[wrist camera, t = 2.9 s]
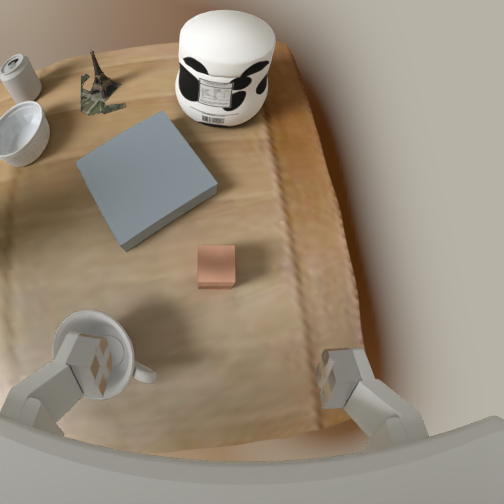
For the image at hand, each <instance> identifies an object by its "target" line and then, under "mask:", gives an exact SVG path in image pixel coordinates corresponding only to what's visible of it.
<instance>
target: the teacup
mask: <svg viewBox="0 0 504 504" xmlns="http://www.w3.org/2000/svg"><path fill="white" fill-rule="evenodd" d="M70 331H71V332H77V333H83V334H88V335H94V336H100V337H105V338H106V340H107V343H108V345H107V349H108V350H109V351H110V352H111V355H112V369H111V373H110V375H109V376H108V377H106V378H105V380H106V382H107V386H106V389H105V393H104V396H103V397H97V396H91V395H85V394H83V395H84V396H83V397H84V398H87V399H91V400H105V399H109V398H112V397H114V396H116V395H118V394H119V393H121V392H122V391H123V390H124V389H125V388H126V386H127V385H128V383H129V381H130V379H131V377H132V376H134V378H135V379H137V380H139V381H141V382H144V383H149V384H150V383H154V382H155V381H156V379H157V373H156V372H155V371H154V370H152V369H151V368H149V367H147V366H144V365H142V364H140V363H139V362H137V361H136V360H135V356H134V347H133V344H132V342H131V339H130V338H129V336H128V334H127V333H126V331H125V330H124V328H123V327H122V326H121V325H120V324H119V323H118V322H117V321H116V320H115V319H114V318H113V317H111V316H110V315H108V314H106V313H104V312H101V311H97V310H81V311H77V312H75V313H73V314H71V315H69V316H68V317H67V318H65V319H64V320H63V321H62V323H61V324H60V325H59V327H58V329H57V331H56V333H55V336H54V340H53V348H52V352H53V361H54V360H55V358H56V356H57V354H58V352H59V350H60V348H61V346H62V343H63V341H64V339H65V337H66V335H67V334H68V333H69V332H70Z"/></svg>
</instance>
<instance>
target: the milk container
mask: <svg viewBox="0 0 504 504" xmlns="http://www.w3.org/2000/svg"><path fill="white" fill-rule="evenodd" d="M274 49H275V35H274V32H273V30H272V28H271V27H270V26H269V25H268V24H267V23H266V22H264V21H263V20H261V19H259V18H257V17H256V16H254V15H250V14H247V13H244V12H240V11H232V10H218V11H209V12H206V13H203V14H200V15H197V16H195V17H194V18H192V19H190V20H189V21H187V22H186V24H185V25H184V27H183V28H182V30H181V33H180V43H179V63H180V69H179V72H178V75H177V78H176V86H175V87H176V95H177V99H178V102H179V104H180V106H181V108H182V109H183V111H184V112H185V113H186V114H187V115H188V116H189V117H191V118H192V119H193V120H195V121H197V122H199V123H202V124H204V125H207V126H213V127H229V126H235V125H239V124H241V123H243V122H245V121H247V120H249V119H251V118H252V117H253V116H255V115H256V114H257V112H258V111H259V110H260V108H261V107H262V105H263V103H264V101H265V99H266V96H267V92H268V78H267V73H268V70H269V67H270V64H271V61H272V55H273V52H274Z"/></svg>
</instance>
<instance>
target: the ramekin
mask: <svg viewBox="0 0 504 504" xmlns="http://www.w3.org/2000/svg"><path fill="white" fill-rule="evenodd" d="M49 137H50V128H49V124H48V122H47V119H46V117H45V113H44V110H43V108H42V107H41V105H40V104H39V103H37V102H35V101H25V102H22V103H19V104H17V105H15V106H14V107H12V108H11V109H9V110H8V111H7V112H6V113H5V114H4V115H3V116H2V117H1V118H0V159H2V160H3V161H4V162H6V163H7V164H9V165H11V166H13V167H23V166H26V165H28V164H30V163H32V162H33V161H35V160H36V159H37V158H38V157H39V156H40V155H41V154H42V153H43V151H44V150H45V148H46V146H47V143H48V141H49Z"/></svg>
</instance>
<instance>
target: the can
mask: <svg viewBox="0 0 504 504" xmlns="http://www.w3.org/2000/svg"><path fill="white" fill-rule="evenodd" d="M0 73H1V75H0V79H1V81H2V82H3V84H4V85H5V87H6V88H7V90H8V92H9V93H10V95H11V96H12V98H13V99H14V101H15V102H16V104H19V103H22V102H25V101H34V100H35V99H36V98H37V97H38V95H39V93H40V92H41V89H42V84H41V82H40V80H39V79H38V77H37V75H36V73H35V71H34V69H33V67H32V65H31V63H30V61H29V59H28V57H26V56H24V55H23V54H17V55H14V56H12V57H11V58H9V59H8V60H7V61H6V62H5V63H4V64H3V65H2V67H1V69H0Z"/></svg>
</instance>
